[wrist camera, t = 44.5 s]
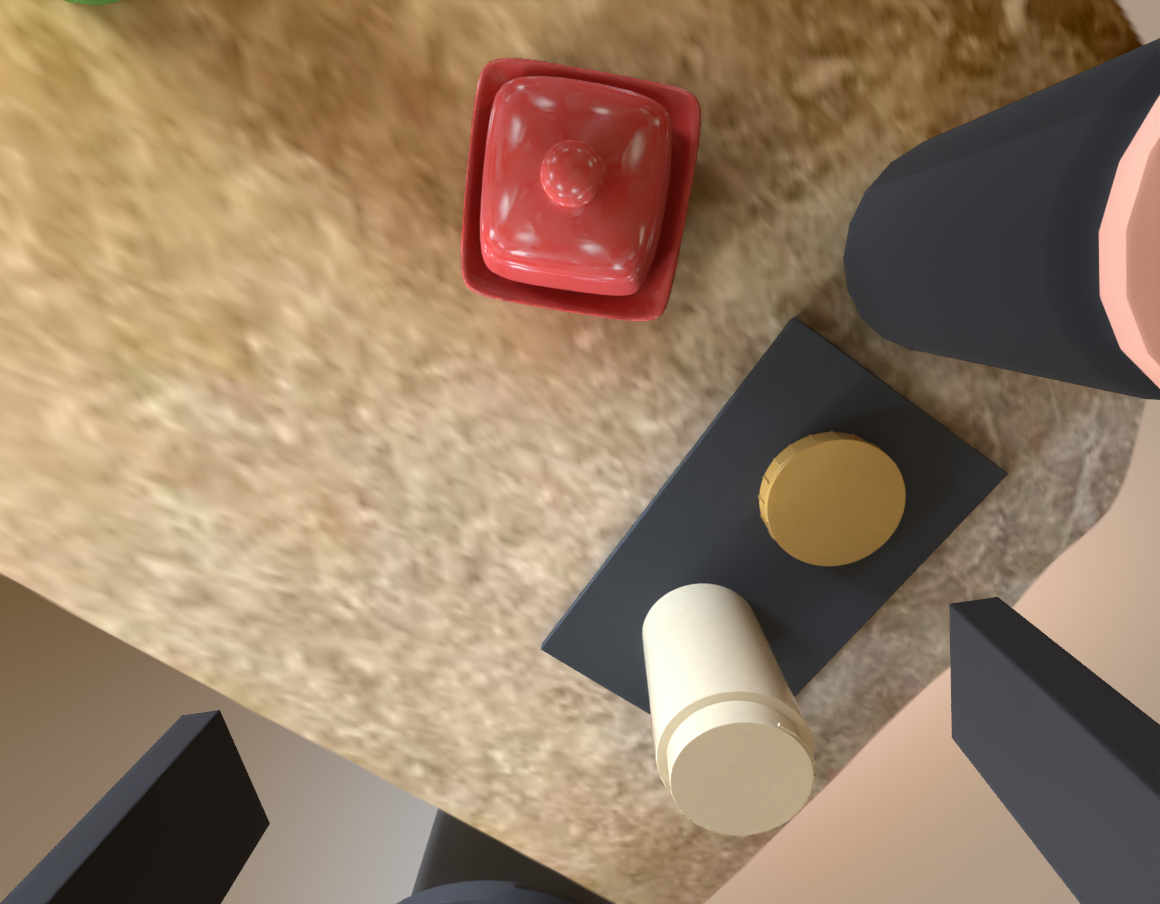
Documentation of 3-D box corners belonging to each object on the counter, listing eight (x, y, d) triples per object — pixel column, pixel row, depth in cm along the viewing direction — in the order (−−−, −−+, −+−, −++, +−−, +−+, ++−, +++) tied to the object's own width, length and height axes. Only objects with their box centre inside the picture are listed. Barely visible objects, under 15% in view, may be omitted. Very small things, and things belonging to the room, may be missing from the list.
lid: (889, 420, 33) (904, 427, 31) (894, 543, 35) (908, 556, 33) (751, 443, 33) (759, 451, 32) (764, 563, 36) (772, 576, 34)
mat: (729, 756, 41) (731, 763, 40) (541, 644, 39) (540, 649, 38) (1002, 470, 34) (1008, 473, 33) (792, 316, 32) (795, 317, 31)
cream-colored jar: (711, 703, 39) (754, 867, 28) (618, 647, 38) (626, 795, 27) (783, 622, 37) (860, 766, 26) (688, 561, 36) (727, 684, 25)
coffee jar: (947, 383, 33) (1334, 495, 15) (794, 286, 32) (1028, 289, 14) (1084, 209, 30) (1742, 107, 13) (921, 94, 29) (1404, -190, 11)
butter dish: (706, 98, 29) (748, 25, 21) (662, 326, 32) (683, 340, 24) (483, 60, 29) (437, -28, 21) (461, 293, 32) (414, 296, 24)
